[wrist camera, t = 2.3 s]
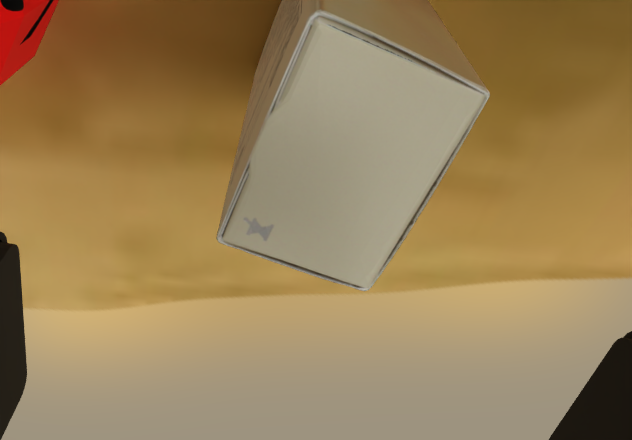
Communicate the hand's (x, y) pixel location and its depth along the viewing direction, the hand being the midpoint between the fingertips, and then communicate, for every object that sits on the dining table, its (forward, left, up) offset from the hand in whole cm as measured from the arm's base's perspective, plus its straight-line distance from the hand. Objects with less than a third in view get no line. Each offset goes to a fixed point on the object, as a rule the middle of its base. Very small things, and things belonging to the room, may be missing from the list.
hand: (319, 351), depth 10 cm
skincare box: (-1, 0, -18) cm, 18 cm away
